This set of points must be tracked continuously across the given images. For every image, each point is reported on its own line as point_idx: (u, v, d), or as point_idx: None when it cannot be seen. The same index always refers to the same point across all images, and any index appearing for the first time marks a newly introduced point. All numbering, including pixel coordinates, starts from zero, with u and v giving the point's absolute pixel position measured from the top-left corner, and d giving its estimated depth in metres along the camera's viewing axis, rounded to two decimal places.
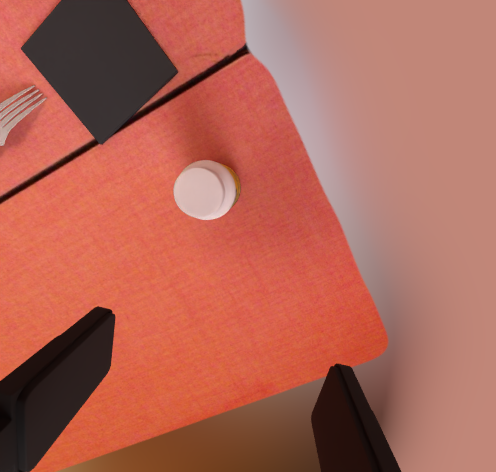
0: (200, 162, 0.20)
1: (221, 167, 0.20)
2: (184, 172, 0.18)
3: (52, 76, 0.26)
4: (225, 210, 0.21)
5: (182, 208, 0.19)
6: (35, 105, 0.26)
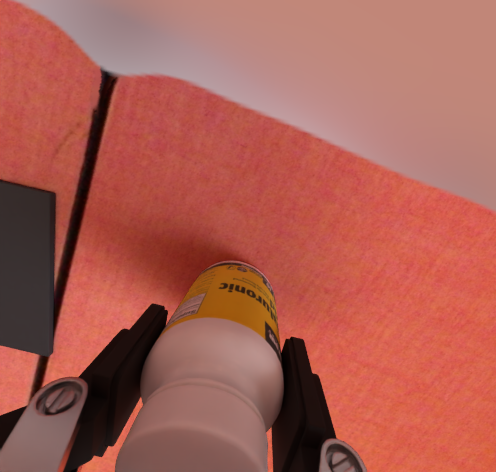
0: (156, 356, 0.08)
1: (203, 334, 0.08)
2: (119, 465, 0.06)
3: None
4: (279, 405, 0.08)
5: None
6: None
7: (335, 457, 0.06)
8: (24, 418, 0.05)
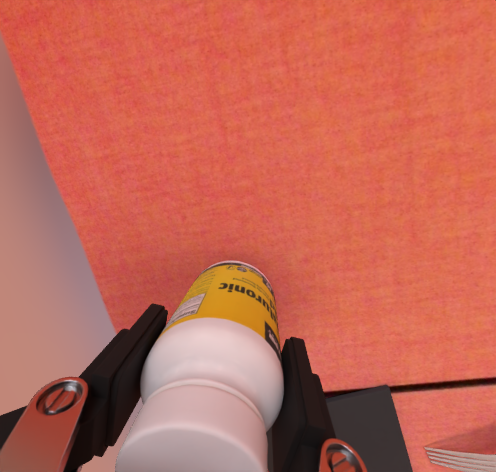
0: (155, 356, 0.08)
1: (202, 334, 0.08)
2: (119, 465, 0.06)
3: (401, 463, 0.20)
4: (279, 404, 0.08)
5: None
6: (446, 452, 0.19)
7: (335, 457, 0.06)
8: (24, 418, 0.05)
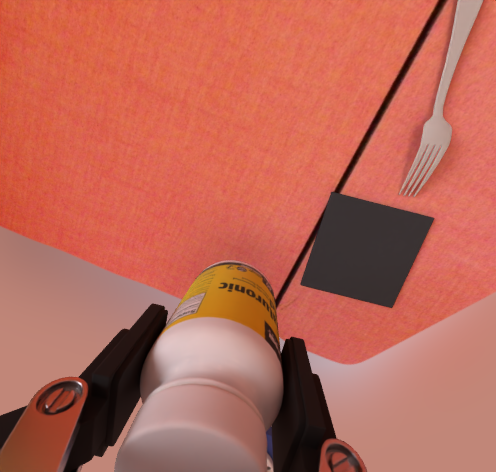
0: (155, 355, 0.08)
1: (202, 334, 0.08)
2: (119, 464, 0.06)
3: (398, 216, 0.27)
4: (279, 404, 0.08)
5: None
6: (405, 183, 0.26)
7: (335, 457, 0.06)
8: (24, 418, 0.05)
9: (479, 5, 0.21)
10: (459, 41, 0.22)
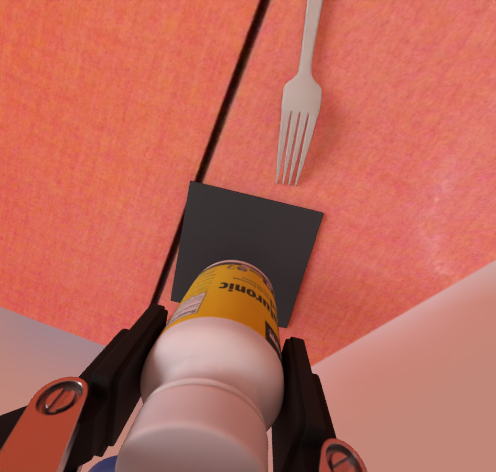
0: (156, 355, 0.08)
1: (203, 333, 0.08)
2: (119, 464, 0.06)
3: (277, 211, 0.21)
4: (279, 404, 0.08)
5: None
6: (278, 167, 0.20)
7: (335, 457, 0.06)
8: (24, 418, 0.05)
9: None
10: None
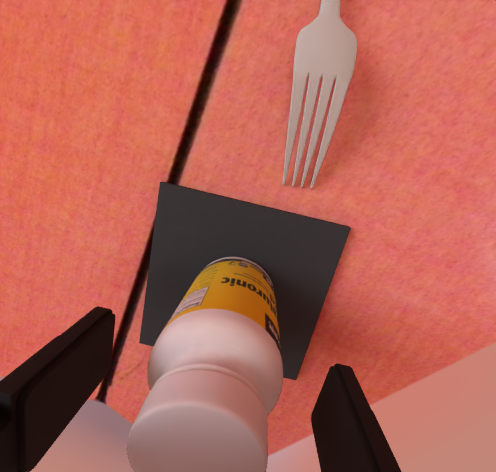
0: (162, 344, 0.09)
1: (207, 324, 0.08)
2: (131, 440, 0.06)
3: (285, 224, 0.15)
4: (278, 390, 0.09)
5: None
6: (286, 162, 0.13)
7: None
8: None
9: None
10: None
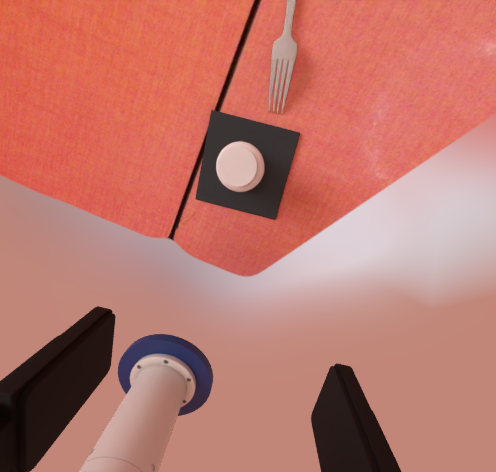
0: (223, 150, 0.25)
1: (238, 142, 0.25)
2: (219, 160, 0.23)
3: (269, 131, 0.31)
4: (262, 168, 0.25)
5: (235, 185, 0.24)
6: (269, 99, 0.30)
7: None
8: None
9: None
10: None
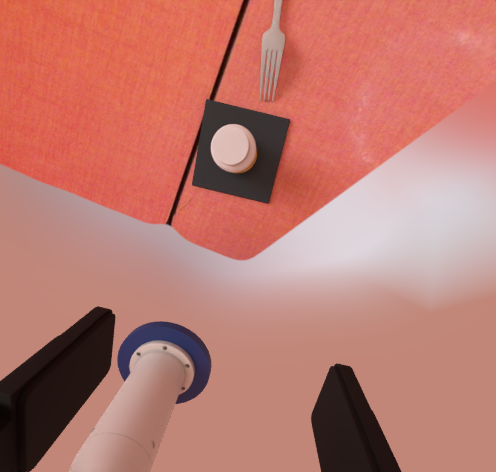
0: None
1: (231, 124, 0.27)
2: (213, 139, 0.25)
3: (261, 118, 0.33)
4: (254, 149, 0.27)
5: (228, 163, 0.25)
6: (261, 88, 0.32)
7: None
8: None
9: None
10: None
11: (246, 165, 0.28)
